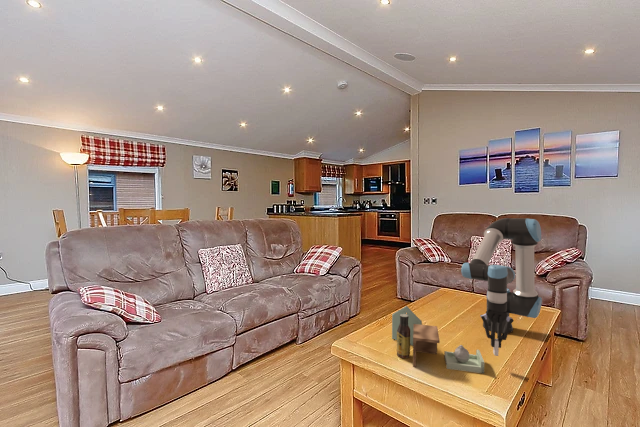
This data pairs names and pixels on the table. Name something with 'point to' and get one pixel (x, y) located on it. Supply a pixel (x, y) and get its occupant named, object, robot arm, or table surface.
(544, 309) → the table surface
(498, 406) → the table surface
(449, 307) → the table surface
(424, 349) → the wooden open box
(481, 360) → the tray
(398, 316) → the grey piece
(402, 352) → the sauce bottle
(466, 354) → the figurine
